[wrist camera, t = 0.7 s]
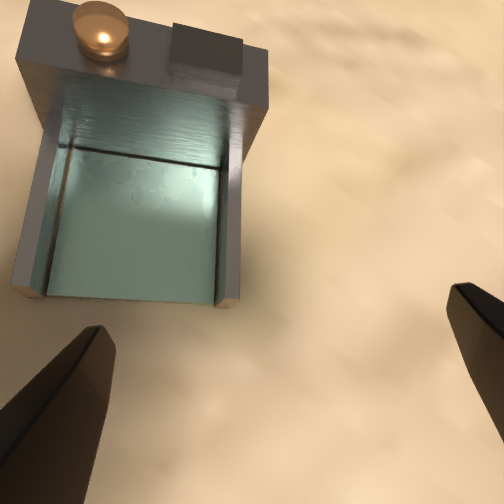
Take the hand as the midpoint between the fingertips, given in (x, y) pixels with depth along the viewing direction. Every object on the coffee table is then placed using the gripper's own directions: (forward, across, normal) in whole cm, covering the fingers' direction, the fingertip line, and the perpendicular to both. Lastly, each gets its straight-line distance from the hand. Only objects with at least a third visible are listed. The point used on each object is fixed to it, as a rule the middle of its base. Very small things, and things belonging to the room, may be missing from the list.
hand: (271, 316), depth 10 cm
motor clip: (+14, +8, +3) cm, 17 cm away
